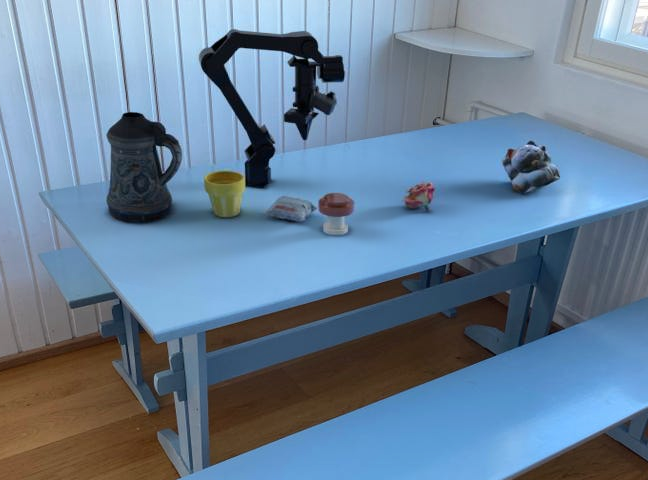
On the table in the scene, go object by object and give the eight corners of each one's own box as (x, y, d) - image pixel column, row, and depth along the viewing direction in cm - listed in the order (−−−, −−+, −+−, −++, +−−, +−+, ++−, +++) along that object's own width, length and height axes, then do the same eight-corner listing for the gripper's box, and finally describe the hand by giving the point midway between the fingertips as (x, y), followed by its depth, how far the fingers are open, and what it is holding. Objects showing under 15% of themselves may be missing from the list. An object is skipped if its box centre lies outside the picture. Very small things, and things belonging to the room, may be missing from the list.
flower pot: (208, 204, 198) (205, 169, 192) (247, 204, 199) (245, 169, 193) (205, 220, 189) (202, 184, 184) (245, 220, 190) (244, 184, 185)
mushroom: (313, 234, 185) (313, 201, 180) (323, 220, 193) (324, 188, 187) (347, 240, 184) (348, 207, 179) (357, 225, 191) (358, 193, 186)
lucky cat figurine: (516, 196, 211) (504, 148, 208) (506, 197, 223) (495, 151, 220) (566, 181, 211) (555, 132, 208) (553, 182, 223) (543, 136, 220)
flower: (445, 201, 202) (433, 174, 200) (438, 207, 194) (425, 179, 192) (414, 216, 206) (402, 190, 205) (406, 222, 198) (393, 195, 197)
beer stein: (104, 202, 196) (88, 107, 181) (176, 193, 203) (167, 101, 188) (113, 227, 184) (97, 127, 169) (190, 217, 190) (182, 120, 176)
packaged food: (304, 228, 188) (304, 210, 185) (262, 219, 191) (262, 201, 188) (317, 215, 195) (317, 198, 192) (276, 208, 198) (276, 190, 195)
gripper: (323, 95, 190) (322, 154, 199) (343, 78, 205) (341, 133, 214) (282, 90, 192) (283, 148, 201) (305, 73, 207) (305, 128, 216)
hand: (305, 139), depth 208 cm, fingers closed
